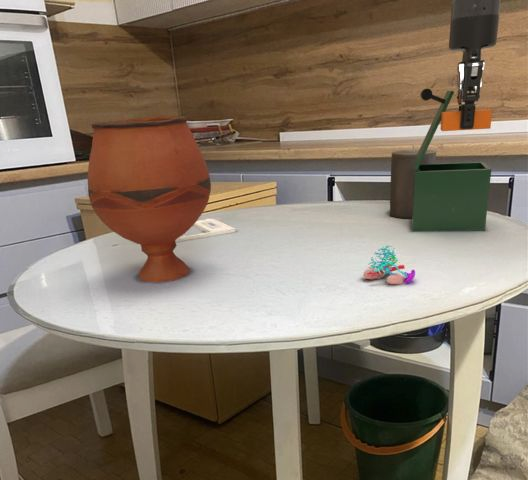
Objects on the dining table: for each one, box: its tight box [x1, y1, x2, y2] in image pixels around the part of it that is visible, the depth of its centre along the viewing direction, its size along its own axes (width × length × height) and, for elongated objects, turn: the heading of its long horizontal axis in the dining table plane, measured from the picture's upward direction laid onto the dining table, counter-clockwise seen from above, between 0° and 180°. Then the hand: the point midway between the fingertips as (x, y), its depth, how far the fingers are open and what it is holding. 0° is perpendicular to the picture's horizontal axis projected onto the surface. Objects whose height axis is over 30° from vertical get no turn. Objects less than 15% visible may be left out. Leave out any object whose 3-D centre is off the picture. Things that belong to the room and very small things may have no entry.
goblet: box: [87, 115, 212, 283], centre depth 86 cm, size 19×19×25 cm
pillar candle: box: [388, 145, 437, 219], centre depth 120 cm, size 10×10×15 cm
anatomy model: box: [362, 245, 416, 285], centre depth 80 cm, size 5×8×7 cm
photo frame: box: [175, 218, 236, 243], centre depth 120 cm, size 15×1×18 cm
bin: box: [411, 161, 492, 233], centre depth 108 cm, size 14×12×12 cm
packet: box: [440, 108, 493, 132], centre depth 94 cm, size 4×8×3 cm, turn 78°
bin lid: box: [414, 88, 455, 171], centre depth 103 cm, size 14×12×5 cm
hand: (465, 127), depth 95 cm, fingers closed on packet, 4 cm apart
